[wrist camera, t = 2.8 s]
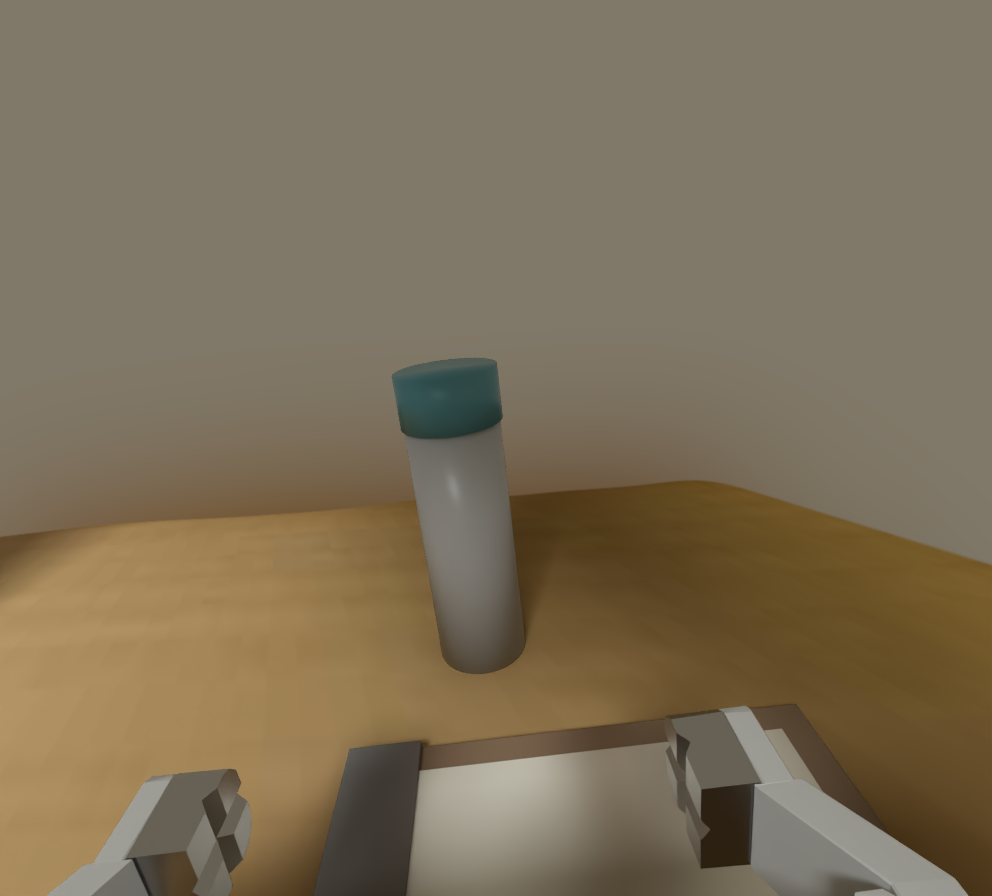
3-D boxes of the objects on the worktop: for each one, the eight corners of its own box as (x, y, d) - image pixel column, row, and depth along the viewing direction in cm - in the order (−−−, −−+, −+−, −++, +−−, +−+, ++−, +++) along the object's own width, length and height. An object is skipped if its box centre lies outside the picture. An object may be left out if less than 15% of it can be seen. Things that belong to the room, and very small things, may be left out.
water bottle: (436, 680, 23) (384, 386, 19) (441, 622, 26) (398, 365, 22) (531, 669, 23) (499, 373, 19) (523, 612, 26) (494, 354, 22)
